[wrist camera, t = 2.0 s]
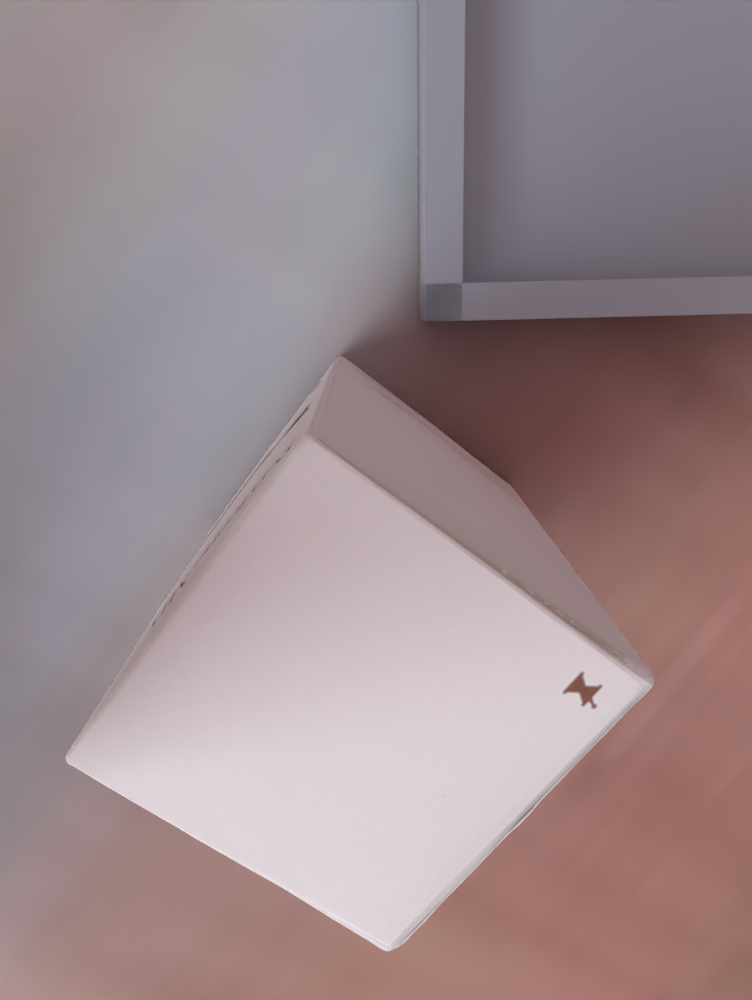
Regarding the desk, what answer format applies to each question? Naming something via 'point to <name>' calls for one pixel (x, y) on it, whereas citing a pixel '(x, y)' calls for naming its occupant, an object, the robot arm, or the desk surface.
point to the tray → (584, 158)
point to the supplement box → (363, 668)
